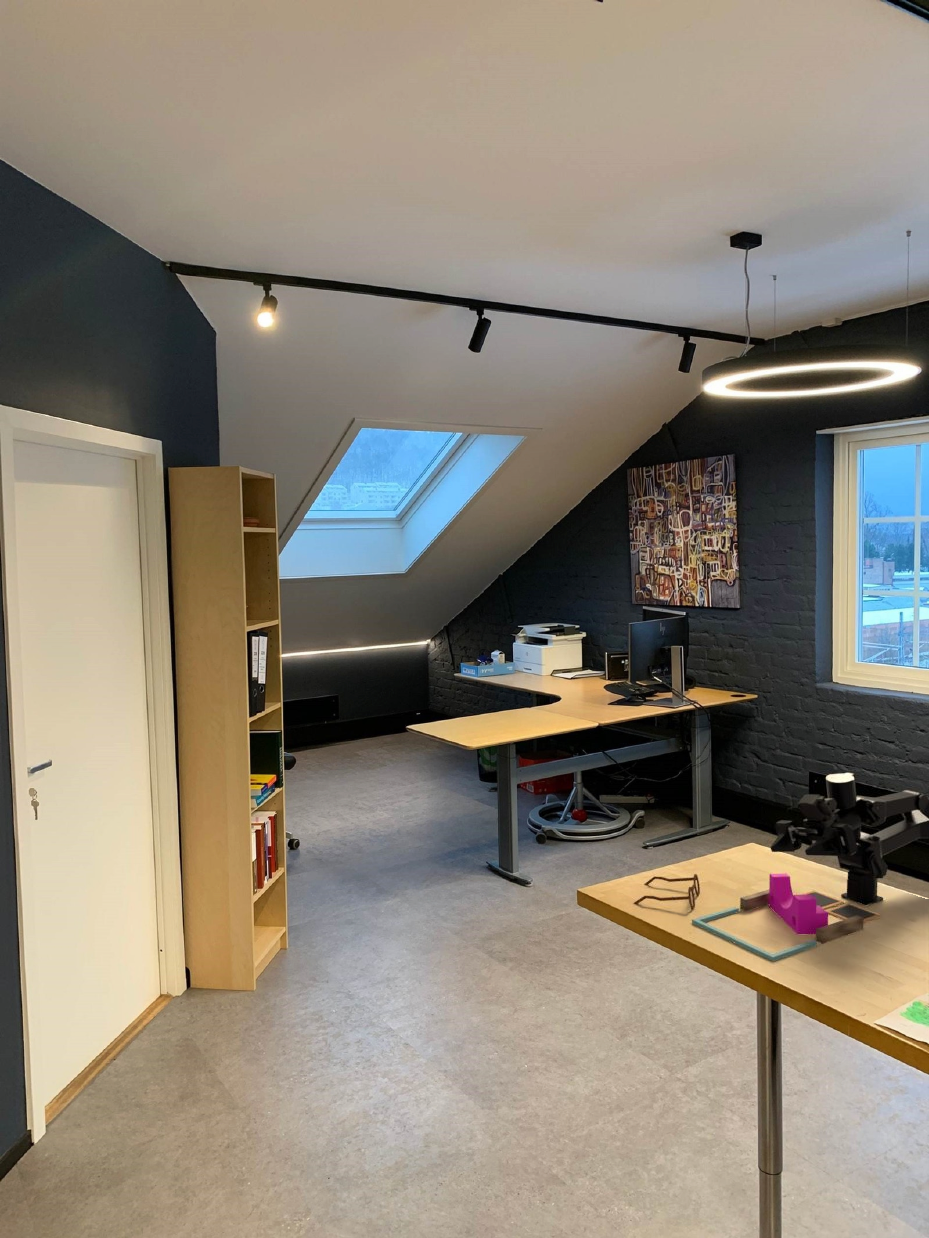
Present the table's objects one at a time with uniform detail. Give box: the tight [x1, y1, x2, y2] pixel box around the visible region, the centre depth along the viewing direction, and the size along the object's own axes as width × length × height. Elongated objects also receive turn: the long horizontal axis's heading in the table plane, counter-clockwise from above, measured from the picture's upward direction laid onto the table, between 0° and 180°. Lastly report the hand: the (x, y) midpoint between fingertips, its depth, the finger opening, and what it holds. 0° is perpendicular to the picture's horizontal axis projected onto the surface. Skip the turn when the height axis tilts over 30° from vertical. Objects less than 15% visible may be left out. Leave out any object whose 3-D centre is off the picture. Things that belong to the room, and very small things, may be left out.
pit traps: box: [800, 890, 882, 924], centre depth 197 cm, size 8×17×1 cm, turn 31°
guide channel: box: [739, 889, 865, 945], centre depth 191 cm, size 13×21×2 cm, turn 31°
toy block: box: [768, 872, 829, 935], centre depth 191 cm, size 15×6×8 cm, turn 3°
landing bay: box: [691, 906, 819, 962], centre depth 183 cm, size 13×21×1 cm, turn 31°
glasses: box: [632, 873, 701, 910], centre depth 204 cm, size 13×13×5 cm
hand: (788, 851), depth 188 cm, fingers open, 9 cm apart
